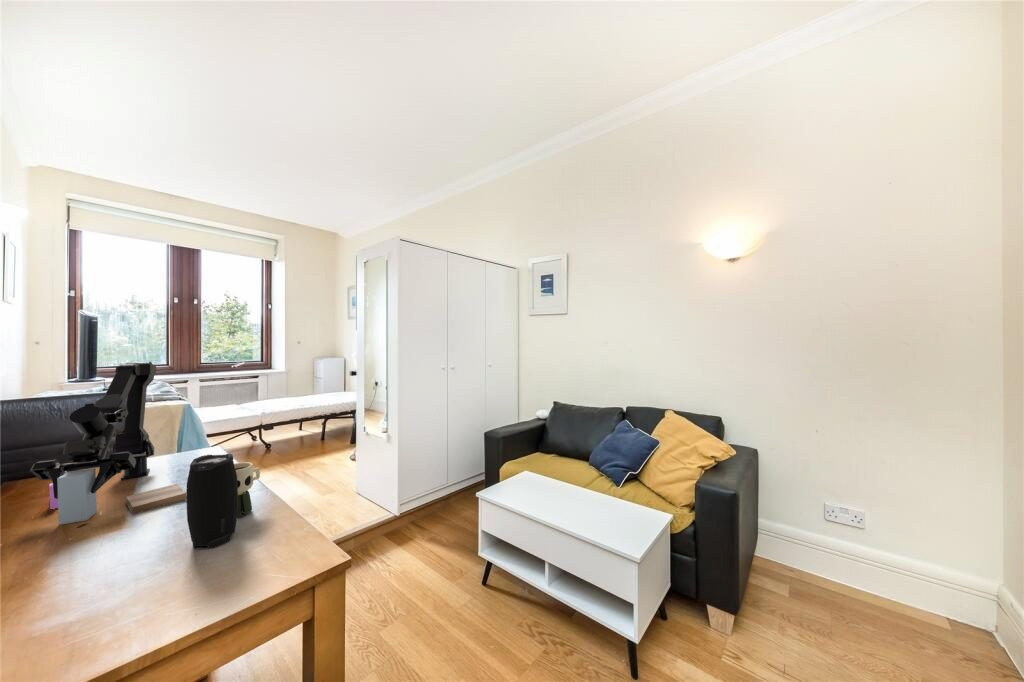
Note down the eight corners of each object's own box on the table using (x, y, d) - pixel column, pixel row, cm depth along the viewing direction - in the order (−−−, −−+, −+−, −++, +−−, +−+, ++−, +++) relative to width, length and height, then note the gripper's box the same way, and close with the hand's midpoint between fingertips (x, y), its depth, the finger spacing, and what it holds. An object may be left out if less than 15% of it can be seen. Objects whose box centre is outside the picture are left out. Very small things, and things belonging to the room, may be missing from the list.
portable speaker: (188, 539, 88) (186, 457, 87) (237, 526, 94) (236, 449, 93) (186, 556, 81) (184, 467, 81) (240, 541, 87) (238, 458, 87)
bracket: (80, 503, 108) (80, 479, 107) (50, 510, 103) (49, 485, 103) (79, 491, 116) (79, 469, 116) (51, 497, 112) (50, 474, 111)
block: (70, 516, 100) (69, 471, 99) (96, 511, 102) (95, 468, 102) (58, 524, 95) (57, 478, 95) (86, 520, 97) (84, 474, 97)
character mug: (218, 527, 93) (217, 475, 93) (207, 519, 97) (206, 470, 97) (266, 509, 102) (265, 463, 102) (254, 503, 106) (253, 458, 106)
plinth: (126, 503, 107) (125, 496, 107) (176, 490, 116) (176, 483, 116) (133, 514, 100) (132, 507, 100) (186, 499, 109) (186, 492, 109)
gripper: (33, 431, 97) (2, 489, 88) (130, 423, 106) (111, 474, 96) (54, 452, 105) (27, 508, 95) (143, 443, 113) (127, 493, 103)
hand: (74, 495), depth 97 cm, fingers open, 6 cm apart
